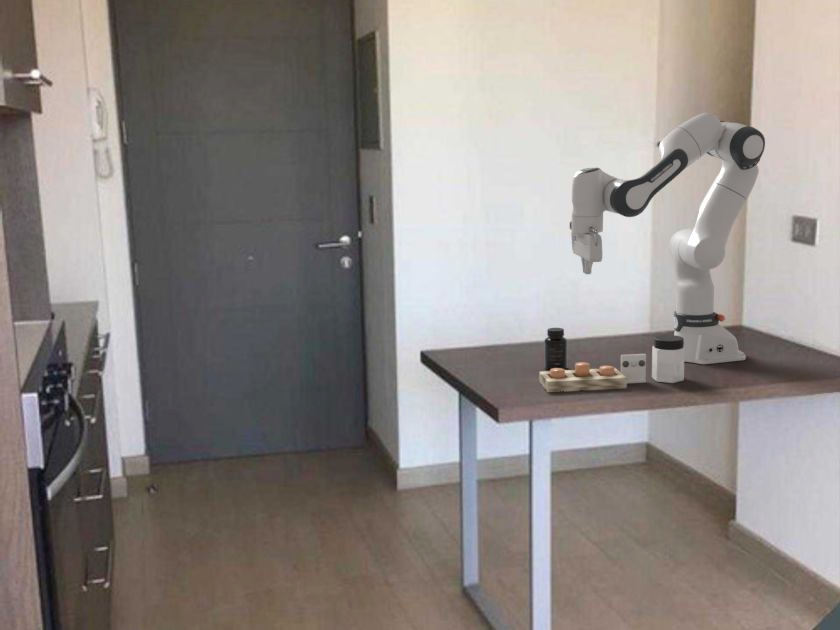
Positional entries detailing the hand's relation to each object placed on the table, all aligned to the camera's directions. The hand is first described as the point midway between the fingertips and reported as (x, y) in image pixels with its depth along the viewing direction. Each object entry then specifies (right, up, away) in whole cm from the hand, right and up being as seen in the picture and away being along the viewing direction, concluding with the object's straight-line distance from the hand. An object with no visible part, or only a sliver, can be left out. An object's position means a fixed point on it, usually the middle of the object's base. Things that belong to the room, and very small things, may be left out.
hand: (587, 273), depth 285 cm
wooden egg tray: (-3, -31, -9) cm, 33 cm away
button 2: (+4, -29, -9) cm, 31 cm away
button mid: (-3, -28, -9) cm, 30 cm away
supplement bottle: (-8, -28, +10) cm, 31 cm away
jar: (+22, -30, -5) cm, 38 cm away
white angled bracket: (+12, -31, -8) cm, 34 cm away
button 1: (-10, -30, -10) cm, 33 cm away
